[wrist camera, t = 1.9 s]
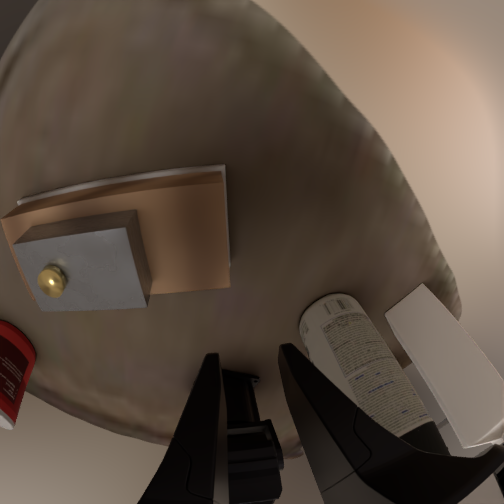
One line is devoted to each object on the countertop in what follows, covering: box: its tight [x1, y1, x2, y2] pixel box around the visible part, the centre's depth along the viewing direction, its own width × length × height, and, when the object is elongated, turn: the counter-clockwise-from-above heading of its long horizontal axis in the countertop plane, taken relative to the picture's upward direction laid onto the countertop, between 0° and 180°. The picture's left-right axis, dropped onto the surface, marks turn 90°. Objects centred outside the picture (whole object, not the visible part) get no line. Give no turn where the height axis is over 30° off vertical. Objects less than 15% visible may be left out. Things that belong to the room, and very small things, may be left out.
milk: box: [384, 283, 504, 448], centre depth 19 cm, size 6×6×22 cm
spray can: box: [299, 293, 451, 456], centre depth 17 cm, size 7×7×20 cm
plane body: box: [1, 164, 231, 301], centre depth 16 cm, size 17×8×4 cm, turn 91°
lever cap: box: [12, 209, 153, 311], centre depth 13 cm, size 8×5×3 cm, turn 91°
